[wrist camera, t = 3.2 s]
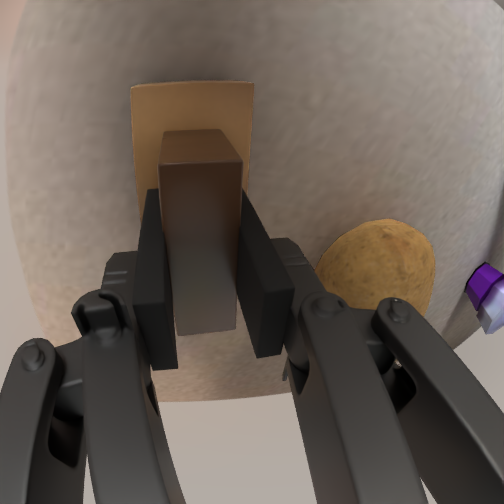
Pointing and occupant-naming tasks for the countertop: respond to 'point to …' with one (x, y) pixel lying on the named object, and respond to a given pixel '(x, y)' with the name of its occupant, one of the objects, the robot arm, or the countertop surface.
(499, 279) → the potion bottle
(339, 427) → the robot arm
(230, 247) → the brush
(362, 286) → the potato
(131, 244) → the countertop surface
